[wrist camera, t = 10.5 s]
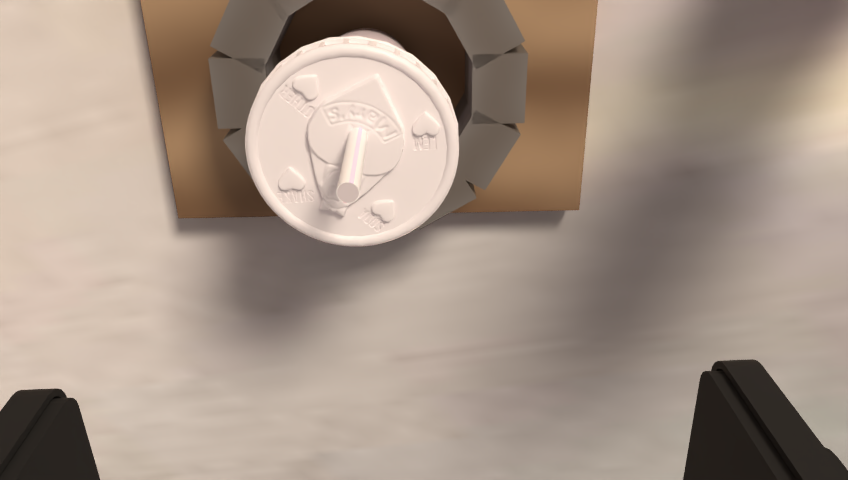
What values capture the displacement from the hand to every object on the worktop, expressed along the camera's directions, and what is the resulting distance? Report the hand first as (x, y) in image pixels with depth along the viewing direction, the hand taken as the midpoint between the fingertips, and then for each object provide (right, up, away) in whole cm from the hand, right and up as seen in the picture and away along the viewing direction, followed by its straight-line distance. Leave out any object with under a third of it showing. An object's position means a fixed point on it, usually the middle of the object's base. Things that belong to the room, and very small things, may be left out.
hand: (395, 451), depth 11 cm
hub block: (-2, +11, +20) cm, 23 cm away
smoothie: (-2, +10, +19) cm, 22 cm away
